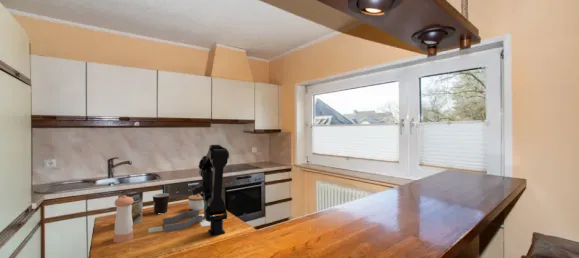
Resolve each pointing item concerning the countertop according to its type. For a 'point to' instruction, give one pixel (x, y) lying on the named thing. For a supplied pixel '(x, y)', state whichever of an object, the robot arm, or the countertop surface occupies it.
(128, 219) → the pepper shaker
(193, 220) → the channel
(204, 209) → the teal peg
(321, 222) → the countertop surface
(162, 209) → the coffee mug
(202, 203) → the lidded jar
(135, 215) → the coffee box
